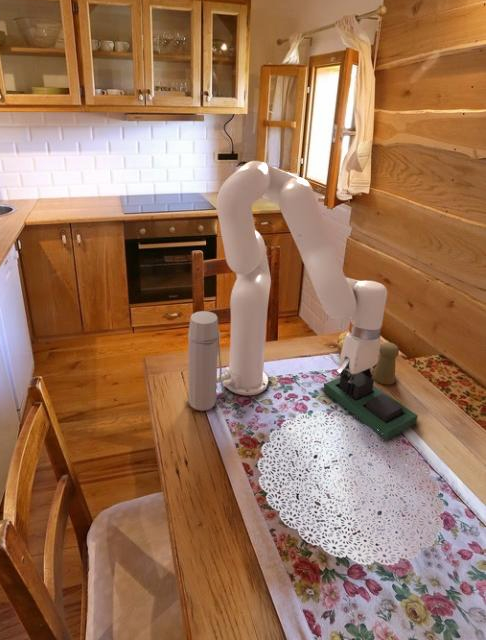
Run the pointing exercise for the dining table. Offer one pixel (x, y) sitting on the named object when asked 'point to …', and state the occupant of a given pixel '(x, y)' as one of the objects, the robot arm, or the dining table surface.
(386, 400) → the pad
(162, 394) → the dining table surface
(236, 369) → the robot arm
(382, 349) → the pepper mill
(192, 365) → the water bottle
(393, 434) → the green rectangular frame
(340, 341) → the bread roll
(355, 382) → the pad
